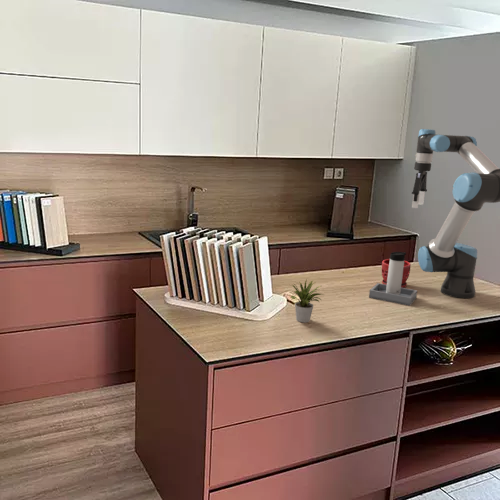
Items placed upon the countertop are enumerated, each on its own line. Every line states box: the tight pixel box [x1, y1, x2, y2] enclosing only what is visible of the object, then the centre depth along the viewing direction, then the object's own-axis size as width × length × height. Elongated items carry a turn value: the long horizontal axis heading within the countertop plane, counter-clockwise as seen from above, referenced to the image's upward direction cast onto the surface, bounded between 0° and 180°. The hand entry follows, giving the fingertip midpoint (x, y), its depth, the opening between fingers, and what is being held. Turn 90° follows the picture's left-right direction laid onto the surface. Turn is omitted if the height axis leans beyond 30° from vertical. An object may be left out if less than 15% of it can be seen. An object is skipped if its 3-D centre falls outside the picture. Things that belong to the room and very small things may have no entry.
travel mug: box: [386, 251, 407, 295], centre depth 248 cm, size 6×7×20 cm
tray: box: [368, 282, 418, 307], centre depth 250 cm, size 18×13×4 cm
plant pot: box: [381, 258, 412, 288], centre depth 266 cm, size 13×13×12 cm
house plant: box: [289, 278, 325, 323], centre depth 214 cm, size 14×14×16 cm
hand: (417, 206), depth 273 cm, fingers open, 13 cm apart
